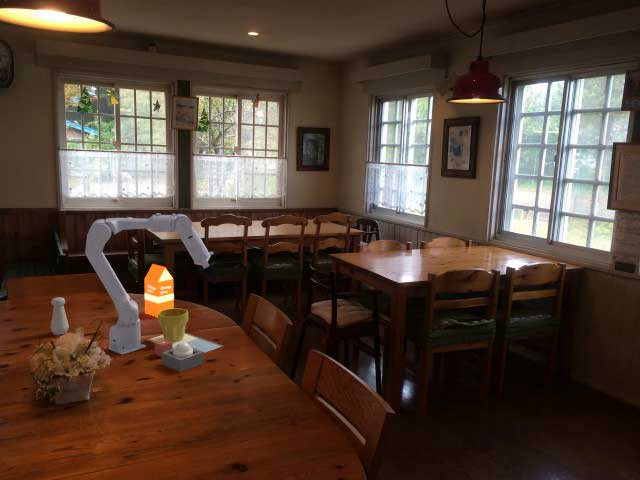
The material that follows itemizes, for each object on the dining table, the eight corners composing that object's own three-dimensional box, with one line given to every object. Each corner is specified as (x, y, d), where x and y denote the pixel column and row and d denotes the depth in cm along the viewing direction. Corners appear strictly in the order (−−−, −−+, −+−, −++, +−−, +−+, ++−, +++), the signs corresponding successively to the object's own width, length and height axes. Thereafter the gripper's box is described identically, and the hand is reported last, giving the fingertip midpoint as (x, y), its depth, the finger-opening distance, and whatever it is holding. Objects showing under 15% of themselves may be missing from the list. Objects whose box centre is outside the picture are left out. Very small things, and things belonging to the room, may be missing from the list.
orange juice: (158, 318, 211) (157, 268, 208) (144, 313, 216) (143, 265, 213) (174, 313, 217) (173, 265, 214) (160, 309, 222) (160, 262, 219)
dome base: (180, 372, 161) (180, 360, 160) (161, 364, 166) (161, 352, 166) (204, 363, 168) (204, 351, 168) (185, 355, 174) (185, 344, 173)
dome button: (181, 362, 163) (181, 347, 162) (169, 357, 166) (168, 342, 165) (197, 356, 168) (196, 342, 167) (184, 352, 171) (184, 337, 170)
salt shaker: (72, 331, 193) (70, 296, 191) (63, 336, 187) (61, 300, 185) (56, 330, 193) (55, 295, 191) (47, 335, 188) (45, 299, 185)
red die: (162, 357, 172) (162, 345, 171) (154, 354, 174) (154, 342, 173) (172, 353, 175) (172, 342, 174) (164, 350, 177) (164, 339, 177)
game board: (191, 357, 172) (191, 357, 172) (146, 340, 186) (146, 339, 186) (223, 346, 184) (223, 345, 184) (178, 330, 198) (178, 330, 198)
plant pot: (152, 341, 185) (151, 314, 183) (168, 332, 195) (168, 306, 193) (178, 345, 182) (178, 318, 181) (194, 336, 192) (193, 309, 190)
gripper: (208, 245, 175) (228, 279, 179) (204, 236, 188) (222, 268, 192) (188, 255, 174) (209, 290, 178) (186, 246, 187) (205, 278, 191)
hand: (215, 279), depth 185 cm, fingers open, 7 cm apart
